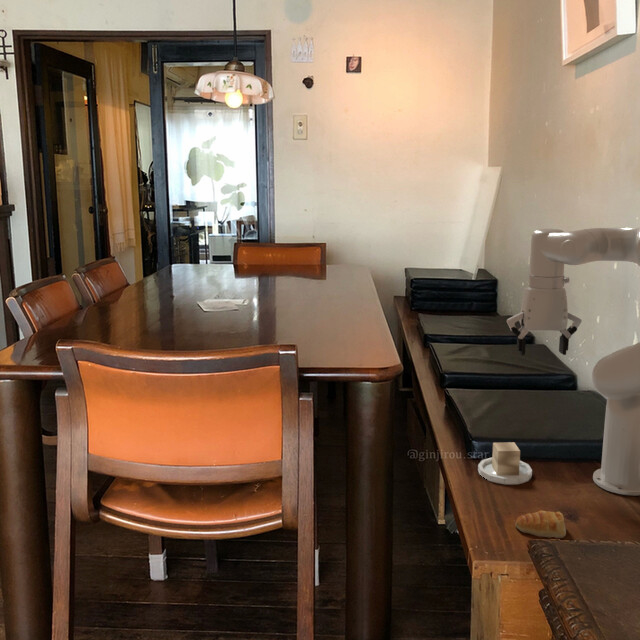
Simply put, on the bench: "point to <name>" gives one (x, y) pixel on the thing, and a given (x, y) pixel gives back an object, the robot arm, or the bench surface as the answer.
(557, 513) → the pastry
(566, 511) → the bench surface
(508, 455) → the maple block
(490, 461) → the dish
